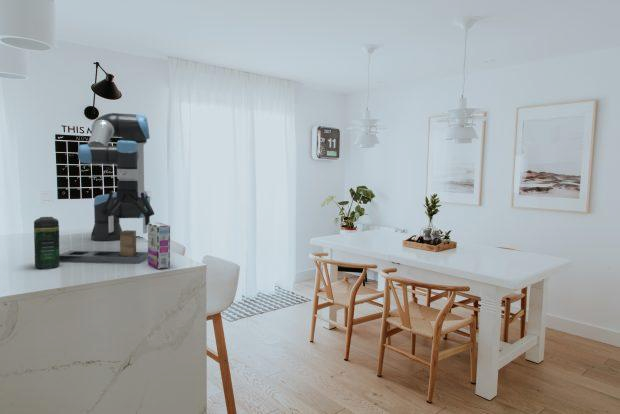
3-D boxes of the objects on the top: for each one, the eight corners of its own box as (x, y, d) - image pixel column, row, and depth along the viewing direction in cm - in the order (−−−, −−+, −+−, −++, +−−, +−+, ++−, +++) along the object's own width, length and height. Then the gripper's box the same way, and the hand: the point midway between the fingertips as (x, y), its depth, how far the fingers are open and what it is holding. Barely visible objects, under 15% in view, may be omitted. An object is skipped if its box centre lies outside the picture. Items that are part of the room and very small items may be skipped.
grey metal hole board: (70, 256, 169) (70, 250, 169) (148, 258, 170) (148, 252, 170) (56, 261, 159) (56, 255, 159) (138, 263, 160) (138, 257, 160)
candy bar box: (170, 268, 155) (170, 225, 153) (157, 269, 152) (157, 226, 150) (160, 262, 163) (159, 222, 162) (147, 264, 160) (147, 222, 159)
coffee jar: (60, 267, 151) (59, 218, 149) (34, 270, 146) (33, 219, 145) (59, 262, 159) (58, 215, 157) (35, 264, 154) (33, 216, 153)
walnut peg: (125, 259, 167) (124, 230, 166) (136, 259, 167) (136, 230, 166) (120, 261, 163) (120, 232, 162) (131, 261, 163) (131, 232, 162)
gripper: (90, 179, 158) (92, 233, 160) (155, 181, 159) (156, 234, 161) (100, 178, 165) (101, 230, 168) (162, 180, 166) (162, 231, 168)
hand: (128, 232), depth 164 cm, fingers open, 13 cm apart
